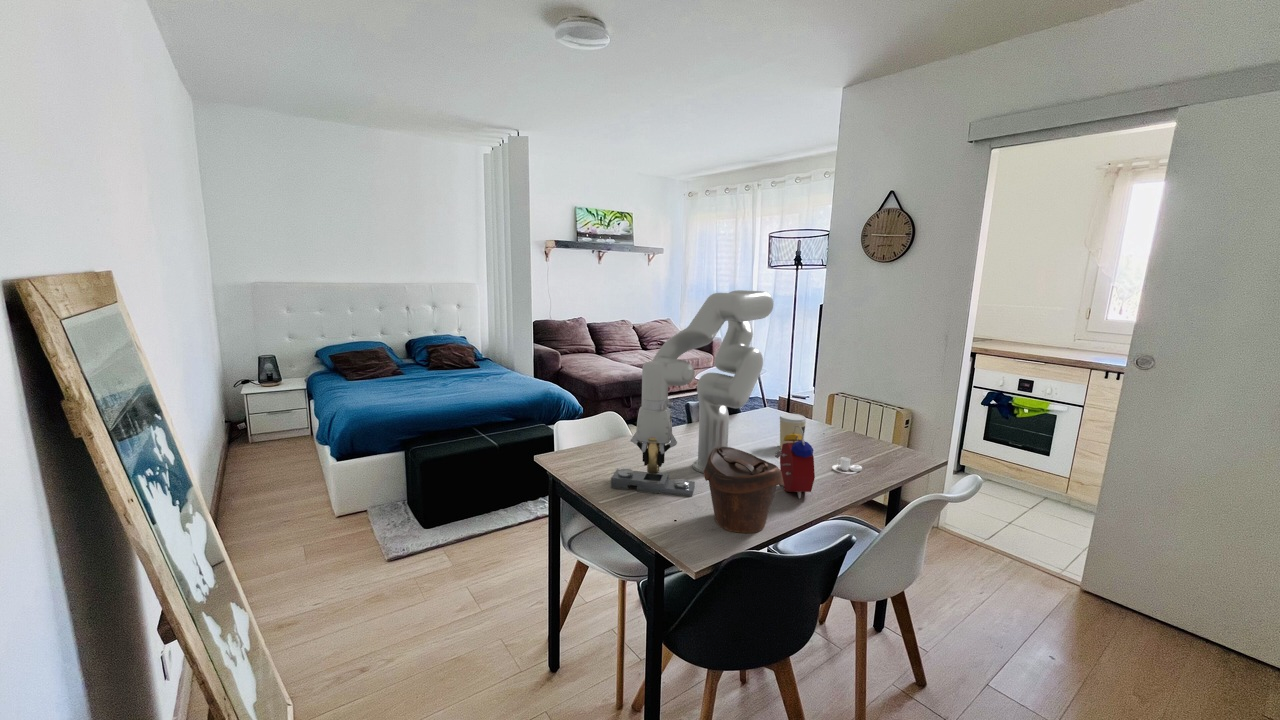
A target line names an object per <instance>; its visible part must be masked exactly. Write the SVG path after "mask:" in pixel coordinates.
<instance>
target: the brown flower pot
mask: <svg viewBox="0 0 1280 720" xmlns="http://www.w3.org/2000/svg"><path fill="white" fill-rule="evenodd" d="M703 475H704V480H705V481H706V482H707V481H708V484H709V485H708V487H709V492H710V497H711V503H712V508H713V514H714V515H713V516H714V519H715V521H716V523H717V525H718V526H720V527H722V529H724V530H727V531H729V532H734V533H739V534H740V533H741V534H754V533H758V532H760V531H762V530H763V529H764V528H765V527H766V524H767V519H768V515H769V513H770V509H771V506H772V503H773V500H774V496H775V493H776V488H777V487H778V486H779V487H780V488H784V482H783V477H782V472H781V470H780V468H779V466H777V465H776V464H773V463H771V462H769V461H767V460H764V459H762V458H760V457H757V456H755V455H753V454H752V453H748V452H746V451H743V450H740V449H739V448H738V449H737V448H735V447H731V446H728V447H725V446H722V447H717V448H715V449H714V450H713V451H712V452H711V453H710V455H709V457H708V461H707V464H706V467H705V469H704V473H703Z"/></svg>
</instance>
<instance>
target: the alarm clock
mask: <svg viewBox="0 0 1280 720" xmlns="http://www.w3.org/2000/svg"><path fill="white" fill-rule="evenodd" d="M796 427H799V429H800V431H801V433H802V436H801V435H799V434H795V432H796ZM784 441H793V443H785V444H783V445H782V448H781V451H780V450H778V451H776V452H775V455H774V457H775V458H776V459H778V458H779V464H780V465H779V466H780V467H779V469H780V470H781V472H782V477H783V482H784V487H783V489H784V491H785V492H792V493H793V492H794V493H797V497H798V499H802V493H811V492H812V489H813V486H814V482H815V477H816V476H815V457H814V448H813V447H812V445H811V444H810V443H809V442H808V441H805V439H803V432H802V430H801V428H800V426H795V429H794V431H793V433H792V434H788V435H786V436H785V438H784ZM795 441H798V442H795Z"/></svg>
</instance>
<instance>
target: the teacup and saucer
mask: <svg viewBox="0 0 1280 720" xmlns="http://www.w3.org/2000/svg"><path fill="white" fill-rule="evenodd" d="M838 460H839V461H840V464H839V463H838ZM837 467H839V468H840V469H841V470H842V471H841V470H838V469H837ZM831 469H832V470H833V471H835V472H838V473H842V474H846V475H851V474H852V475H853V474H854V475H855V474H856V473H858V472H861V471H862V470H863V467H862V466H861V465H860V464H853V465H851V458H850V457H846V456H842V457H840V458H837V459H836V464H834V465H832V466H831ZM849 469H850V471H851V472H848V471H849ZM846 471H847V472H846Z"/></svg>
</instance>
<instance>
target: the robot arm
mask: <svg viewBox="0 0 1280 720" xmlns="http://www.w3.org/2000/svg"><path fill="white" fill-rule="evenodd" d="M773 309H774V298H773V297H772V295H771V294H770V293H769V292H768V291H763V290H743V289H741V290H737V289H736V290H731V291H729V292H714V293H712V294H710V295H709V296H708V297H707V298H706V300H705V301H704V302H703V304H702V306H701V307H700V309H699V310H698V312H697V313H696V314H695V316H694V317H693V319H692V320H691V322H690V323H689V325H688V326H687V327H686V328H684V329H682V330H681V331H679V332H677V333H676V334H675V335H673V336H672V337H670V338H669V339H667V340H666V341H665V342H664V343H663V344H662V345H661V346H660V348H659V350H658V351H657V352H656V354H655V355H654V357H653V359H652V360H650V361H646V362H644V363H643V365H642V366H641V367H642V373H641V406H640V407H639V409H638V415H637V420H636V431H635V433H634V434H633V436H632V437H631V438H630V442H631V443H633V444H634V445H636V446H637V447H638V448H639V450H641V451H640V452H641V453H642V462H643V463H644V466H647V453H648V443H657V444H659V445H660V453H659V459H658V466H659V468H661V467H662V465H663V464H664V463H665V459H666V457H665V453H666V452H667V451H668V450H670V449H671V448H674V447H675V446H677V444H678V441H677V439H676V437H675V435H674V434H673V422H672V421H673V420H672V419H673V418H672V410H671V408H669V407H672V406H674V405H673V401H671V400H670V399H669V398H668V397H669V387H670V386H671V387H672V386H674V387H682V386H686V385H688V384H690V383H691V382H692V381H693V379H694V378H695V367H694V366H693V365H692V364H691V363H690V362H689V361H686V360H683V359H678V358H679V357H681V356H682V355H684V354H686V353H687V352H689V351H692V350H695V349H700V348H702V347H705V346H707V345H710V344H711V343H712V342H713V340H714V338H715V337H716V335H717V334H718V333H719V331H720V330H721V328H722V326H723V325H724V323H725V322H727V323H728V326H727V329H726V332H725V334H724V337H723V339H722V341H721V343H720V346H719V348H718V350H717V352H716V355H715V357H714V362H713V363H714V367H716V369H717V370H719V371H720V372H723V373H727V374H723V373H719V372H718V373H717V372H706V373H704V374H702V375H701V376H700V377H699V378H698V381H697V383H696V384H697V385H696V392H697V393H696V394H697V399H698V404H699V405H698V407H699V415H698V417H699V418H698V419H699V420H698V446H697V447H698V449H697V459H695V460H694V461H693V464H692V468H693V469H694V470H695V471H697V472H699V473H702V474H704V469H705V467H706V464H707V461H708V457H709V455H710V453H711V452H712V451H713V450H714V449H715V448H717V447H722V446H725V447H729V427H730V426H729V425H730V415H729V410H728V408H731V409H740V408H742V407H744V406H745V405H746V404H747V403H748V401H749V399H750V396H751V395H752V393H753V391H754V388H755V386H756V384H757V382H758V380H759V378H760V375H761V373H762V370H763V366H764V365H763V364H764V357H763V355H762V352H761V351H760V350H759V349H758V348H756V347H753V346H750V345H751V342H752V339H753V337H754V336H753V335H754V333H753V327H752V325H751V322H750V321H756V320H762V319H765V318H767V317H768V316H770V314H771V313H772V311H773ZM728 374H731V375H728ZM732 375H733V376H732ZM649 438H656V440H657V442H652V441H648V440H649Z"/></svg>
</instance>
